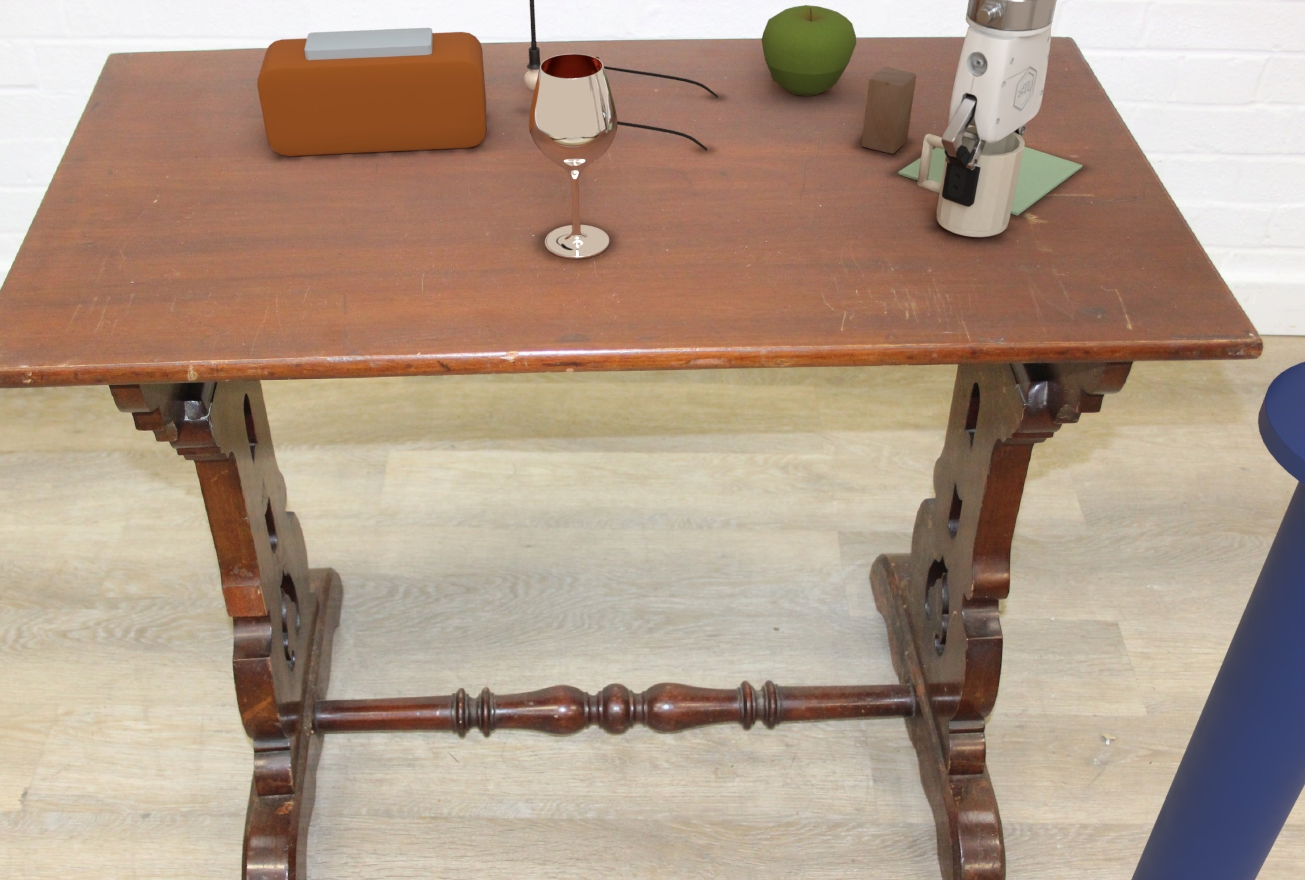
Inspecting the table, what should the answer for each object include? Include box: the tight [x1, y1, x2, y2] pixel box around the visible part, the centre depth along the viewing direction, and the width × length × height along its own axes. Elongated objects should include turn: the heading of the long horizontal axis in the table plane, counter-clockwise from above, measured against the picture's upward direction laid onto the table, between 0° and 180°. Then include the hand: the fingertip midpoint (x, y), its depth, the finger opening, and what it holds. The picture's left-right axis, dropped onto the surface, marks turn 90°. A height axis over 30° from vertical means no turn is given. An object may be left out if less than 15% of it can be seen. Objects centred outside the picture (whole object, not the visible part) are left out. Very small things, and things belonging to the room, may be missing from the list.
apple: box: [761, 4, 857, 97], centre depth 155 cm, size 11×10×10 cm
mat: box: [898, 146, 1084, 217], centre depth 142 cm, size 14×14×1 cm
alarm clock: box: [257, 27, 487, 157], centre depth 147 cm, size 24×8×11 cm, turn 94°
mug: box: [917, 125, 1026, 238], centre depth 130 cm, size 10×7×8 cm
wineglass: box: [528, 53, 618, 260], centre depth 126 cm, size 8×8×18 cm
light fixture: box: [523, 0, 542, 92], centre depth 148 cm, size 7×7×25 cm
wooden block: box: [861, 66, 917, 155], centre depth 144 cm, size 4×4×8 cm
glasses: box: [594, 56, 719, 151], centre depth 152 cm, size 14×15×5 cm
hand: (978, 185), depth 130 cm, fingers closed on mug, 7 cm apart
